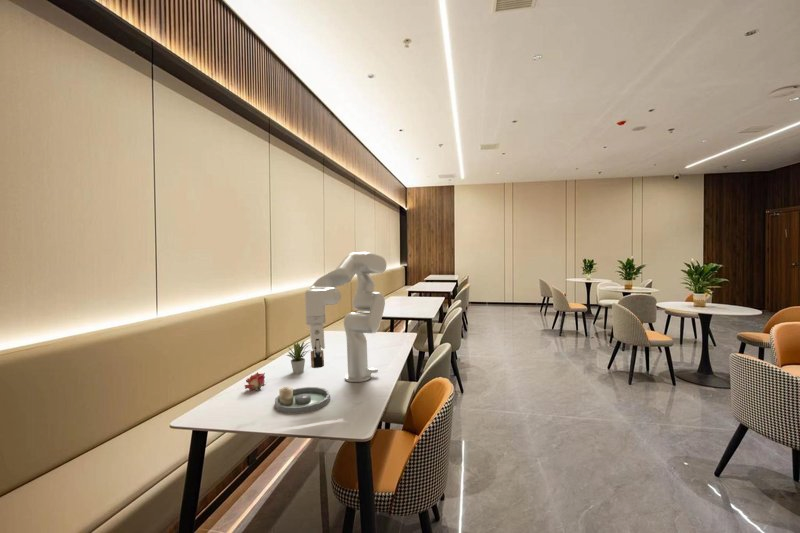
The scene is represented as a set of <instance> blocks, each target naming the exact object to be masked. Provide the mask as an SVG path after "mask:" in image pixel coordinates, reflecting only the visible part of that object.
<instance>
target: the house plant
mask: <svg viewBox="0 0 800 533" xmlns="http://www.w3.org/2000/svg"><path fill="white" fill-rule="evenodd" d="M305 342H306V341H305V340H304V341H302V343H301V344H300V343H299V342H298V340H296V341H293V350H292V348H291V347H289V346H288V345H284V346H285V347H287V348H288V349H289V350H290V351H288V354H286V356H287V357H290V358H291V359H290V363H291V369H292V373H293V374H302V373H304V372H305V371H304V370H305V361H306V359H305V358H304V357H305V356H306V354H307V353H309V352H311V349H309V350H307V351H305V350H306V348H308V347H309V346H311V341H309V342H306V343H305ZM308 344H309V345H308Z"/></svg>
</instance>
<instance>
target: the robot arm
mask: <svg viewBox="0 0 800 533" xmlns="http://www.w3.org/2000/svg"><path fill="white" fill-rule="evenodd" d="M386 270H387V261H386V259H385V257H383V256H381V255H379V254H375V253H372V252H368V251H360V252H351V253H348V254H347V255H346V256H345V257H344V259H342V261H341V262H340V263H339V264H338V266H337V267H336V268H335V269H334V270H331V271H330V272H328V273H326V274H325V275H323V276H321V277H319V278H318V279H316V280H315V282H314V283H313V284H312V285H311V286H310V287H309V289H306V291H305V293H304V296H305V297H304V299H305V300H304V302H305V320H306V321H305V325H307V326H309V338H310V339H309V340H310V346H311V349H312V351H313V350H314V367H315V368H314V369H317V368H316V367H320V368H323V367H322V356H321V350H325V348H326V346H325V331H324V330H325V329H324V324H326V306H333V305H336V304H338V303H339V302H340V300H341V298H342V294H341V291H340V290H339V288H337V287H341V286H345V285H348V283H350V282H351V281H352V279H353V278H354V277H355V275H356V276H357V285H356V290H355V294H354V296H353V300H352V307H353V309H354V310H355V311H352V312H349V313H346V315H345V316H344V319H343V327H344V331H345V338H346V354H347V355H346V356H347V359H346V360H347V374H346V375H344V380H345V381H346V382H350V383H362V382H367V381H369V380H370V379H371V378H372V374H376V373H379V370H378V368H374V367H371V368H369V365H368V364H369V363H368V362H369V361H368V341H367V337H366V336H365V334H375V333H377V332H378V331H379V330H380V327H381V322H382V318H383V314H384V310H385V306H386V300H385V296H384V295H383V293H381V292H379V291H374V290H375V285H376V284H375V281H374V279H373V278H372V277H371V275H370V274H373V275H374V274H377V275H378V274H383V273H384V272H386ZM315 351H316V352H315Z"/></svg>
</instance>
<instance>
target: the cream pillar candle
mask: <svg viewBox="0 0 800 533" xmlns="http://www.w3.org/2000/svg"><path fill="white" fill-rule="evenodd" d="M293 389H294V388H293V387H292V386H283V387H281V388H279V389H278V390H279V391H278V392H279V395H280V405H283V406H290V405H292V404H293ZM279 395H278V396H279Z"/></svg>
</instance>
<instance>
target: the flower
mask: <svg viewBox="0 0 800 533" xmlns="http://www.w3.org/2000/svg"><path fill="white" fill-rule="evenodd" d="M265 377H266V376H265V372H264V373H259V372H255V374H253V375H251V376H250V377H248V378H247V379H245V381H246V383H247V384H245V385H244V389H245V390H247V389H248V390H249V391H257V389H258V391H262V389H261V388H262V387H264V386H266V384H267V383H265Z"/></svg>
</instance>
